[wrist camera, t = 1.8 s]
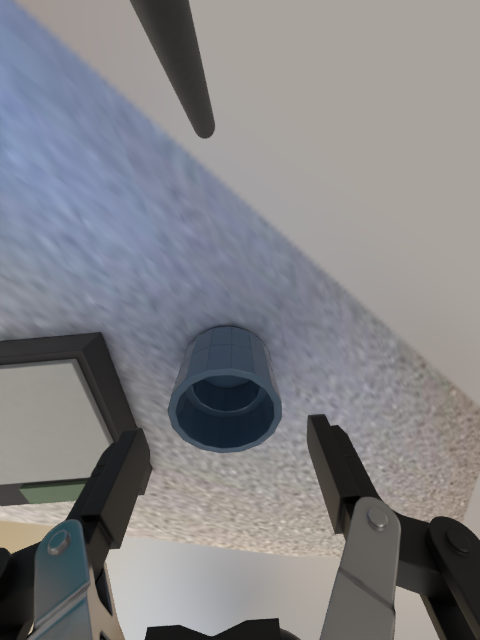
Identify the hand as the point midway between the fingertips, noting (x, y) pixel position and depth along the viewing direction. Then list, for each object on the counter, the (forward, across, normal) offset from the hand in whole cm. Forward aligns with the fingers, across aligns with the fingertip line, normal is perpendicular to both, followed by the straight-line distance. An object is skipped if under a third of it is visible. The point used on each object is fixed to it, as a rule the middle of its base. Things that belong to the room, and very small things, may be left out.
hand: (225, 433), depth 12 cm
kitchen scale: (+6, +14, +4) cm, 16 cm away
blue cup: (+6, 0, 0) cm, 6 cm away
